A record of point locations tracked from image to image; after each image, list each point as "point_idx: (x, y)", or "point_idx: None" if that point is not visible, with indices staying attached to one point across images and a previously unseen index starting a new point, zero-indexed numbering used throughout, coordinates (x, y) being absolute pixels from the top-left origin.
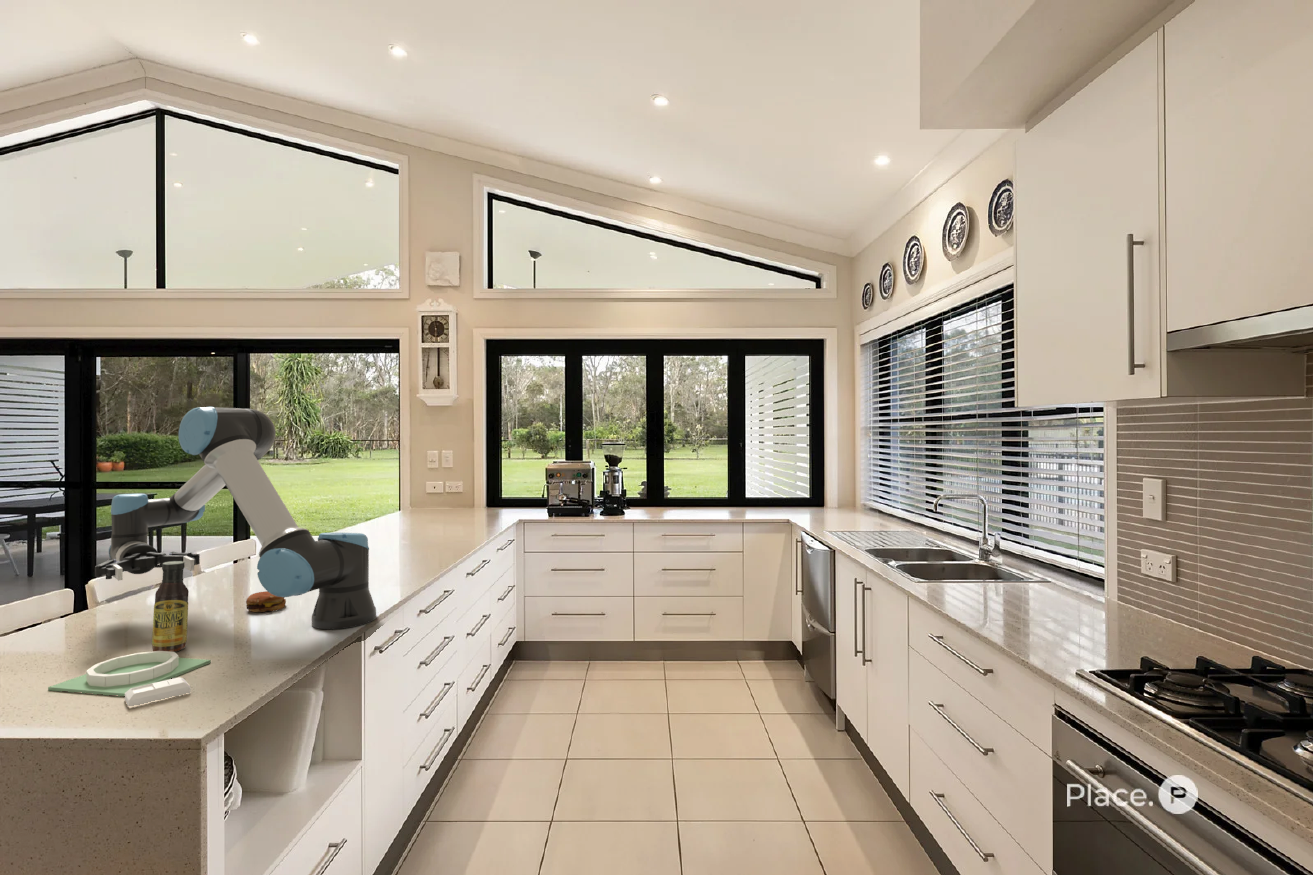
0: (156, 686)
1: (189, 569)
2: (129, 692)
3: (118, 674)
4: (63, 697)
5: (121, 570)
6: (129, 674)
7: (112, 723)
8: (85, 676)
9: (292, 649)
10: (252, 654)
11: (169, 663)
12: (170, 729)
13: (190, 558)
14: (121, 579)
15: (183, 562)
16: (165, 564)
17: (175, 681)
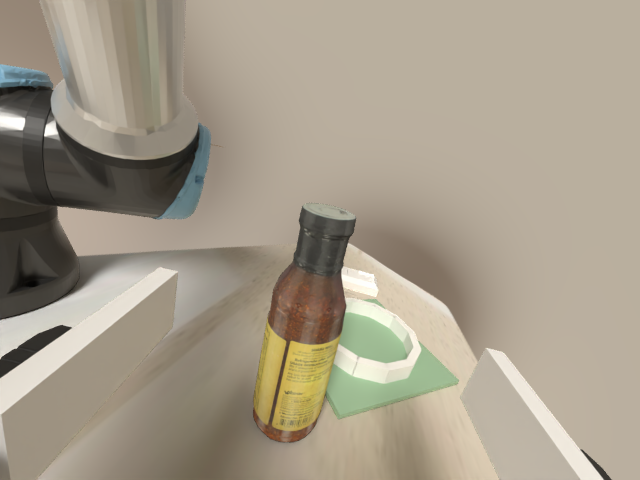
0: (357, 272)
1: (160, 335)
2: (375, 282)
3: (384, 310)
4: (430, 346)
5: (484, 357)
6: (374, 305)
7: (384, 276)
8: (420, 380)
9: (194, 271)
10: (230, 292)
11: None
12: (356, 252)
13: (131, 294)
14: (465, 393)
15: (308, 203)
16: (351, 213)
17: (342, 269)
